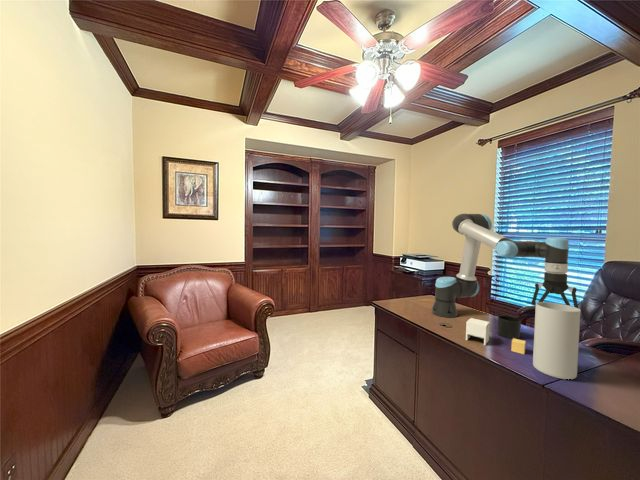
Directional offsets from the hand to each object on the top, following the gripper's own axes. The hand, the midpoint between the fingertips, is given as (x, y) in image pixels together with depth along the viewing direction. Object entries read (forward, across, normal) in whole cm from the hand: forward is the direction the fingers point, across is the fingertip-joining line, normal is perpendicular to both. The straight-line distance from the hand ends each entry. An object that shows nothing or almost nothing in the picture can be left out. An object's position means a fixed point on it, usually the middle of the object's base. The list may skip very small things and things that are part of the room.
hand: (553, 323), depth 116 cm
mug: (+13, -16, +9) cm, 23 cm away
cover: (+13, -27, -10) cm, 32 cm away
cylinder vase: (+13, +1, -22) cm, 25 cm away
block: (+13, -11, -10) cm, 20 cm away
